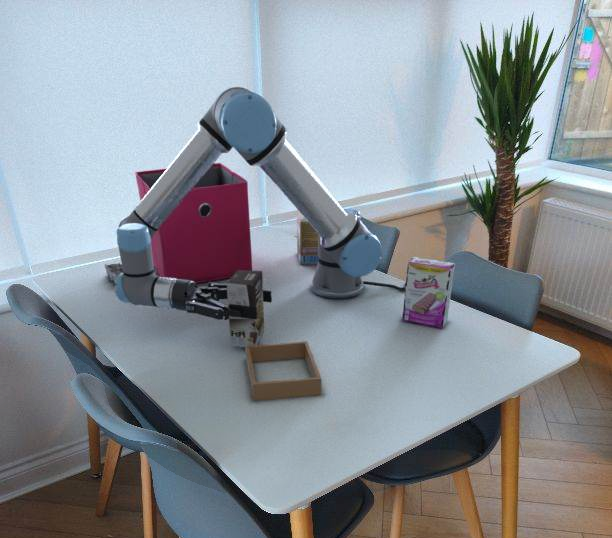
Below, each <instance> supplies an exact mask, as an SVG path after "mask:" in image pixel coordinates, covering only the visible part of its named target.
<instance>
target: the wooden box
mask: <svg viewBox="0 0 612 538" xmlns="http://www.w3.org/2000/svg"><path fill="white" fill-rule="evenodd" d="M244 348H245V360H246V361H245V362H246V366H247V372H248V378H249V384H250V390H251V395H252V400H253V402H256V401H269V400H279V399H288V398H289V399H290V398H299V397H301V398H302V397H310V396H311V397H312V396H319V395H320V396H321V395H322V376H321V373H320V370H319V368H318V365H317V363H316V360H315V358H314V355H313V352H312V350H311V347H310V343H309V342H308V340H304V341H303V340H302V341H292V342H280V343H266V344H257V345H253V346H245V347H244ZM295 359H305V363H306V365H307V369H308V371H309V374H310V377H304V378H292V379H281V380H269V381H259V382H256V375H255V369H254V365H253V363H257V362H258V363H259V362H270V361H271V362H272V361H282V360H295Z"/></svg>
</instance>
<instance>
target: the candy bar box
mask: <svg viewBox="0 0 612 538" xmlns="http://www.w3.org/2000/svg"><path fill="white" fill-rule="evenodd" d="M455 269H456V263H455V262H448V261H443V260H442V261H441V260H437V259H430V258H424V257H416V256H412V258H410V260H409V261H408V262H407V269H406V279H405V283H406V288H405V290H404V300H403V307H402V317H401V319H402V322H405V323H412V324H418V325H422V326H427V327H432V328H437V329H443V328H444V326H445V325H446V324H447V322H448V318H449V310H450V304H451V297H452V289H453V284H454V275H455V271H456V270H455Z"/></svg>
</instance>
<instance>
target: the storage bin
mask: <svg viewBox="0 0 612 538" xmlns="http://www.w3.org/2000/svg"><path fill="white" fill-rule="evenodd" d="M166 169H167V168H159V169H150V170H142V171H135V172H134V175H135V179H136V184H137V189H138V195H139V202H140V201H141V200H142V199H143V198H144V197H145V195H146V194H147V193H148V192H149V190H150V189H151V188H152V187H153V185H154V184H155V183H156V182H157V181H158V179H159V178H160V177H161V176H162V174H163V173H164V172H165V171H166ZM248 185H249V183H248V180H247V179H245V178H244V177H243V176H241V175H240V174H238V173H236V172H235V171H232V170H231V169H230V168H229V167H227V166H226V165H224V164H223V163H221V162H216V163H215V162H214V164H213V165H212V166H211V167H210V168H209V170H208V171H207V172H206V173H205V174H204V176H203V177H202V178H201V179H200V180H199V181H198V183H197V184H196V185H195V186H194V187H193V189H192V190H191V191H190V192H189V193H188V195H187V196H186V197H185V198H184V199H183V201H182V202H181V203H180V204H179V205H178V207H177V208H176V209H175V210H174V211H173V213H172V214H171V215H170V216H169V217H168V219H167V220H166V221H165V222H164V223H163V224H162V226H161V227H160V228H159V229H158V231H157V232H156V233H155V234H154V236H153V237H152V238H151V248H152V255H153V264H154V269H155V270H156V271H157V273H158V276H159V277H170V278H177V279H186V280H192V281H194V282H195V284H201V283H208V282H213V281H216V280H225V279H230V278H231V277H232V276H233V275H234V274H235V272H236V271H237V270H244V271H246V270H248V271H253V257H252V256H253V255H252V241H251V240H252V239H251V223H250V202H249V186H248Z"/></svg>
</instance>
